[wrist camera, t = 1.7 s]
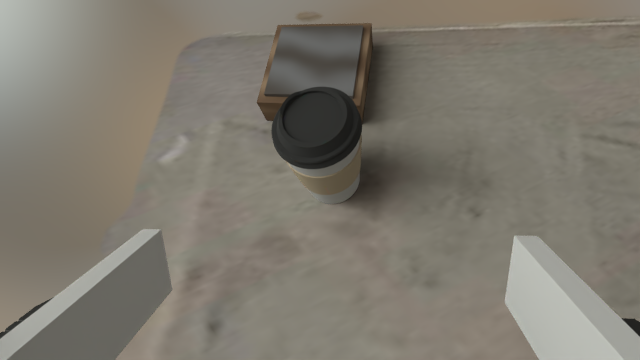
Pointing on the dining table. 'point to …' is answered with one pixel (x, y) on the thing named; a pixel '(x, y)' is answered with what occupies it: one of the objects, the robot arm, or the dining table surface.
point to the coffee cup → (321, 141)
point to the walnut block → (317, 63)
